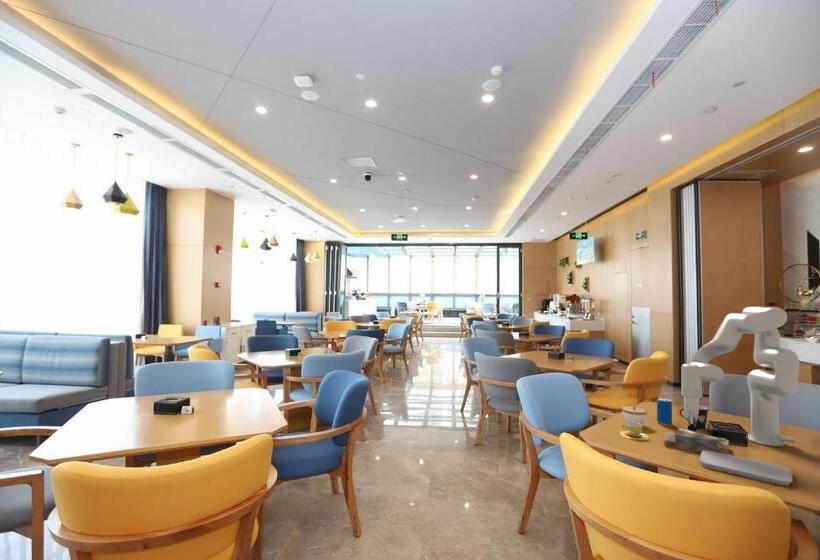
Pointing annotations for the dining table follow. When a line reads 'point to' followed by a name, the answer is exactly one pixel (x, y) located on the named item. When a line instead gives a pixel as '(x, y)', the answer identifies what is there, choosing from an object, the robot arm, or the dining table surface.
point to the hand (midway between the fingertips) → (692, 434)
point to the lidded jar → (634, 415)
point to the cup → (633, 431)
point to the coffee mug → (700, 417)
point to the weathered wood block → (692, 443)
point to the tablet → (746, 467)
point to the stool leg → (706, 437)
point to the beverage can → (664, 411)
